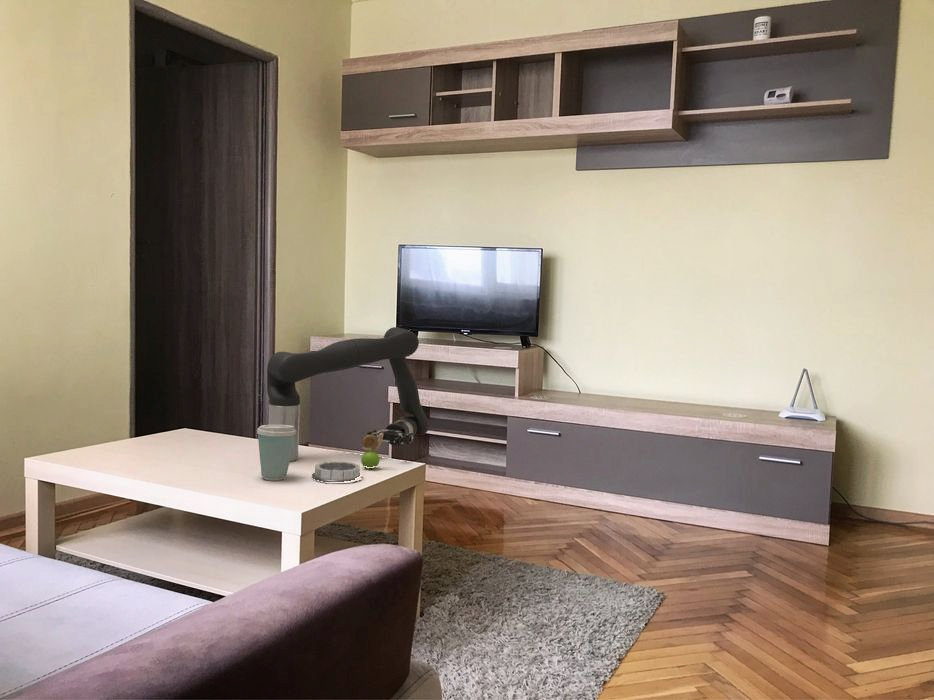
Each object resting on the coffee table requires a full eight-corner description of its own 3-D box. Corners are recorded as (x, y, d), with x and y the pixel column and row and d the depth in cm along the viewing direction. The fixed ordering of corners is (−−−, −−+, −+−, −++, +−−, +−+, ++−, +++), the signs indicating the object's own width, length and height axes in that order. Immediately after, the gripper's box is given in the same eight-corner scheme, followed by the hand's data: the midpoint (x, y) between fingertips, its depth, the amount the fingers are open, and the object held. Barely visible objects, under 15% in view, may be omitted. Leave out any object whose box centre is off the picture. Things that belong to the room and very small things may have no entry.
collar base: (310, 483, 204) (311, 471, 203) (313, 471, 217) (313, 460, 217) (362, 484, 206) (363, 472, 206) (361, 472, 220) (362, 461, 219)
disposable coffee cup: (249, 475, 209) (250, 422, 208) (285, 472, 215) (287, 420, 214) (263, 484, 201) (265, 428, 200) (301, 480, 207) (303, 426, 206)
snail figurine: (383, 470, 223) (385, 430, 223) (362, 471, 222) (363, 430, 221) (380, 466, 229) (382, 427, 228) (359, 466, 227) (361, 427, 226)
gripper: (379, 419, 251) (361, 426, 235) (420, 423, 248) (405, 430, 232) (378, 441, 251) (360, 450, 235) (419, 445, 248) (404, 454, 232)
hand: (382, 440), depth 234 cm, fingers open, 8 cm apart
